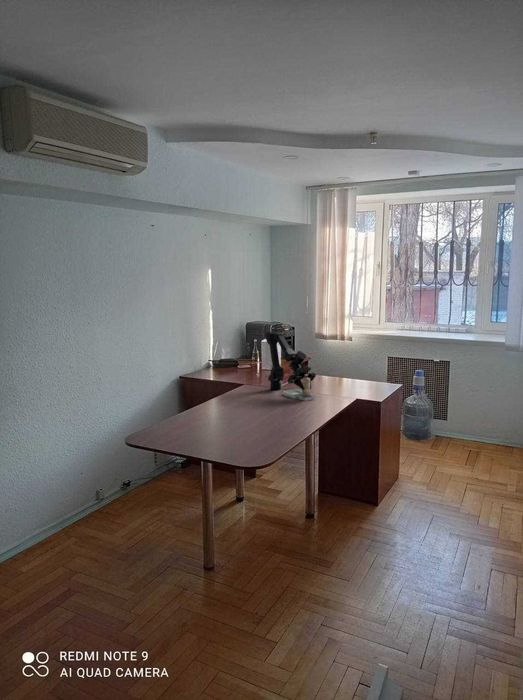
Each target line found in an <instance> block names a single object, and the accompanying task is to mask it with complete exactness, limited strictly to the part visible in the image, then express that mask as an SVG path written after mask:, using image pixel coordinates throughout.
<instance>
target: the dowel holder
mask: <svg viewBox="0 0 523 700" xmlns="http://www.w3.org/2000/svg"><path fill="white" fill-rule="evenodd" d="M297 399H298V400H300V401H304V402H306V401H307V402H308V401H314V400H315V396H314V395H312V394H310V397H302V395H297V398H296V400H297Z"/></svg>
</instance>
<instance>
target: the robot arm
mask: <svg viewBox="0 0 523 700" xmlns="http://www.w3.org/2000/svg"><path fill="white" fill-rule="evenodd" d="M265 341H266V343H267V344H268V346H269V352H270V358H271V364H272V366H271V369H270V374H269V376H268V379H267V380H268V381H269V383H270V388H269V391H277V392H278V391H280V390H282V383H281V381H283V380H284V376H285V371H284V367H282V366H281V365H280V357H279V351H278V345H279V346H280V348H281V350H282V351H283V357H284V360H285V361H286V362H289V364H288V368H291V369H292V371H293V372H292V374H291V375H290V376H288V379H287V383H288V384H293V385H294V386H295V385H296V387H298V388H299V389H300V390H302V389H303V390H304V386H303V384H302V378H310V390H311V389H312V383H311V382H312V381H313V380H314V379H315V378H316V377H317V375H316V373H315V372H310V371H311V370H312V367H311V366H310V364H308V365H306V366H302V364H303V363H304V362H305V360H306V359H307V355H306V354H305V352H302V350H298V351H297V352H296V351H295V350H294V349H293V348H291V347H290V345H289V343H288V342H287V340H286V339H285V337H284V334H283V333H281V332H279V333H278V332H277V331H267V332H266V333H265ZM308 372H309V373H308Z"/></svg>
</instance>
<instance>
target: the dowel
mask: <svg viewBox="0 0 523 700" xmlns="http://www.w3.org/2000/svg"><path fill="white" fill-rule="evenodd" d="M301 382H302V384H303V386H304V390H303V389H301V391H302V397H310V395H311V389H310V378H302V380H301Z"/></svg>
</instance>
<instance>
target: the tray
mask: <svg viewBox="0 0 523 700" xmlns="http://www.w3.org/2000/svg"><path fill="white" fill-rule="evenodd" d="M282 395H283V396H285V397H287V398H290V399H297V395H302V389H291V390H283V391H282Z"/></svg>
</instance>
